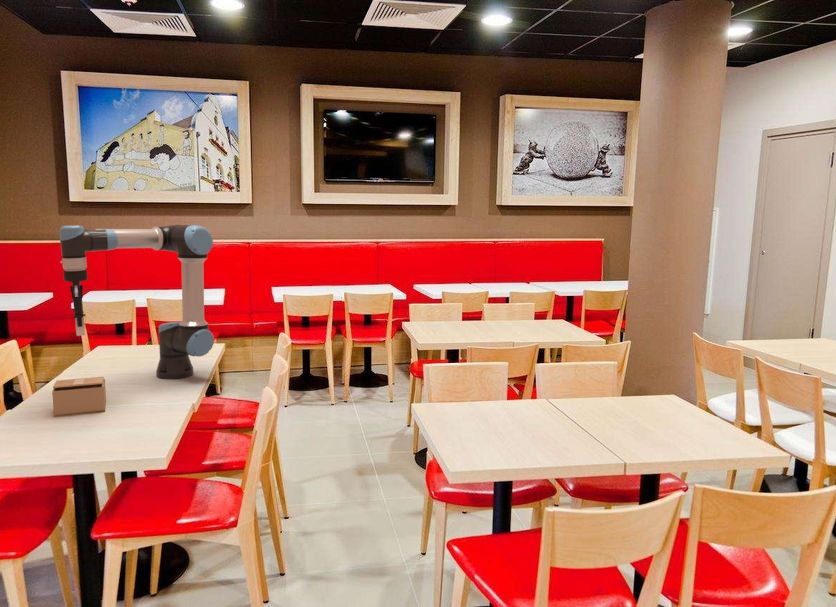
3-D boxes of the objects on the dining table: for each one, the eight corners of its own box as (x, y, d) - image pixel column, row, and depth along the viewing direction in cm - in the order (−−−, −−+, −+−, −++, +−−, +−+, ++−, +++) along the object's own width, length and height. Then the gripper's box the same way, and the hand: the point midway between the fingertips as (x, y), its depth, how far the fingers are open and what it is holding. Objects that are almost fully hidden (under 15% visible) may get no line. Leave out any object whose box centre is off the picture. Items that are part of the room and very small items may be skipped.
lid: (103, 377, 246) (103, 376, 246) (102, 383, 235) (102, 382, 235) (56, 381, 240) (56, 380, 240) (53, 388, 229) (52, 386, 229)
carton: (106, 402, 247) (104, 378, 246) (105, 411, 237) (103, 387, 235) (57, 406, 241) (55, 382, 240) (54, 416, 230) (52, 391, 229)
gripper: (64, 268, 239) (70, 332, 243) (61, 272, 227) (68, 339, 231) (87, 267, 242) (92, 330, 246) (86, 271, 230) (92, 337, 234)
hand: (80, 335), depth 239 cm, fingers closed
